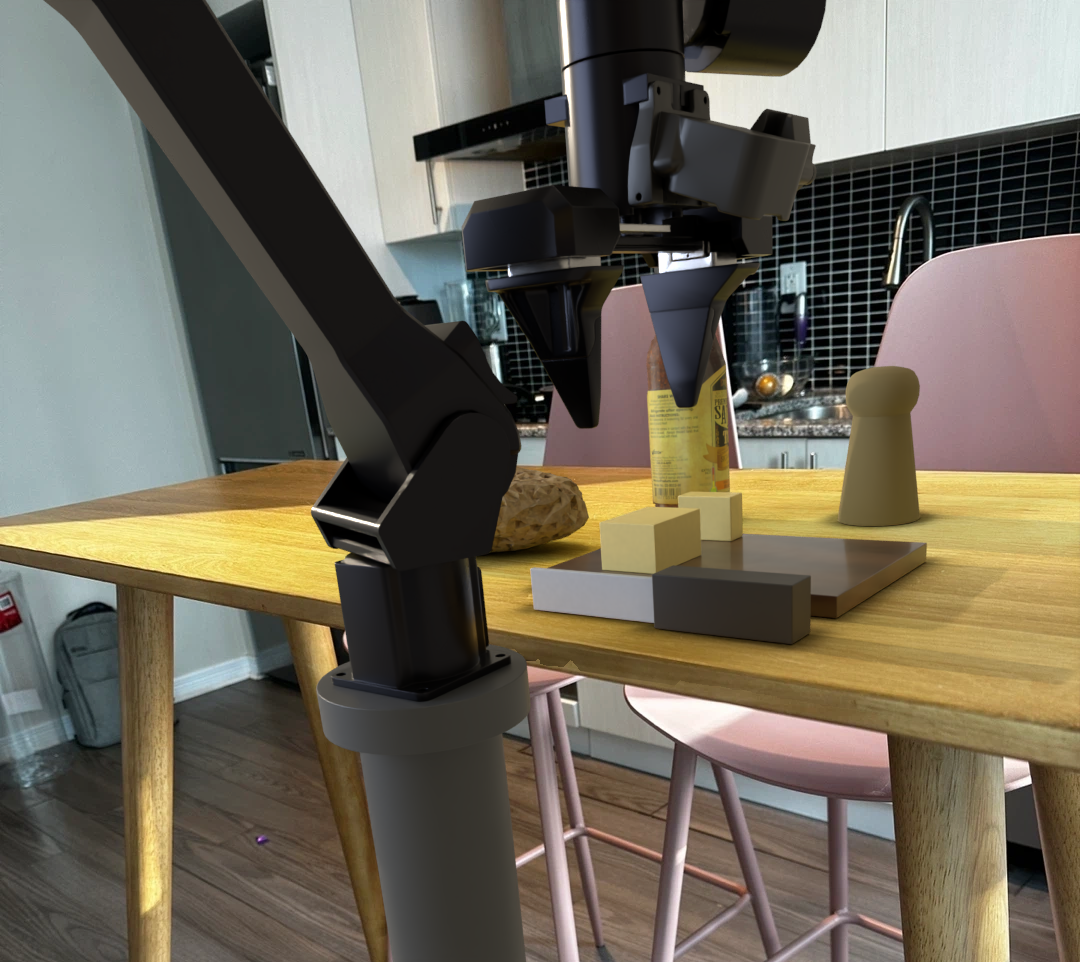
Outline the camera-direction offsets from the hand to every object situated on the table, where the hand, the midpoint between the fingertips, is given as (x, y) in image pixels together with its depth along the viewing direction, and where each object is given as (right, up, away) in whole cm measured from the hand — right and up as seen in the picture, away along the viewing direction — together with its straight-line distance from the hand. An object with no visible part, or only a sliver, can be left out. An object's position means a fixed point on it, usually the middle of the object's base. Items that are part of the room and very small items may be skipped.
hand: (640, 417), depth 53 cm
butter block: (+2, -6, +12) cm, 14 cm away
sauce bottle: (+7, 0, +31) cm, 32 cm away
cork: (+21, 0, +26) cm, 33 cm away
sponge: (-11, -2, +28) cm, 30 cm away
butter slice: (+7, -3, +18) cm, 19 cm away
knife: (+1, -10, +3) cm, 11 cm away
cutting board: (+7, -6, +12) cm, 15 cm away
